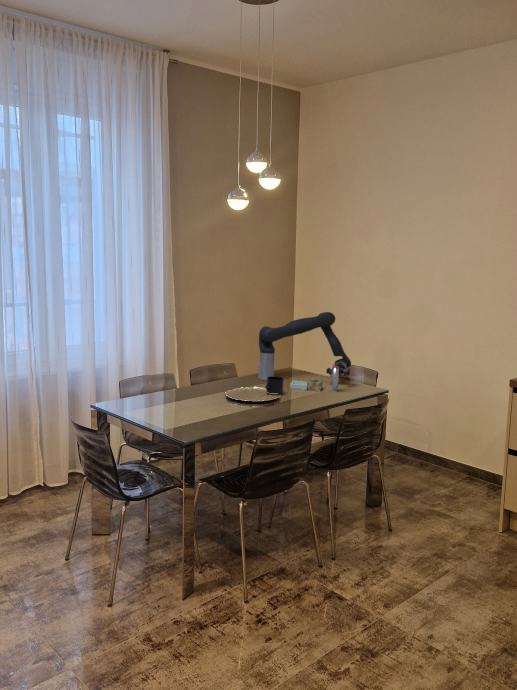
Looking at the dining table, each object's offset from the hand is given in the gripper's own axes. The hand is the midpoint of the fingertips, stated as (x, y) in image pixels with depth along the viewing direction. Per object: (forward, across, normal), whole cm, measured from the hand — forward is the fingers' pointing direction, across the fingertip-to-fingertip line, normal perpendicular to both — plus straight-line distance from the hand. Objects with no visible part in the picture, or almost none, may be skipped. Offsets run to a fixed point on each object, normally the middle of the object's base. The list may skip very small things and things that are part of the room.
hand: (337, 373), depth 377 cm
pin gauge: (+9, 0, +8) cm, 12 cm away
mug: (+29, -33, +9) cm, 45 cm away
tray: (+9, -21, +8) cm, 24 cm away
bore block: (+9, -12, +8) cm, 17 cm away
